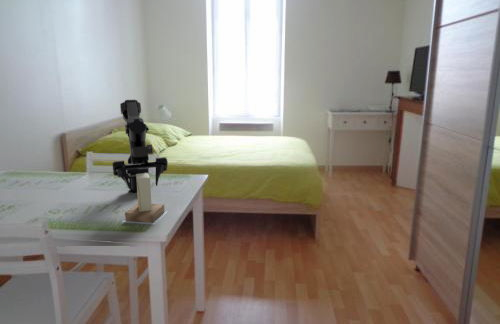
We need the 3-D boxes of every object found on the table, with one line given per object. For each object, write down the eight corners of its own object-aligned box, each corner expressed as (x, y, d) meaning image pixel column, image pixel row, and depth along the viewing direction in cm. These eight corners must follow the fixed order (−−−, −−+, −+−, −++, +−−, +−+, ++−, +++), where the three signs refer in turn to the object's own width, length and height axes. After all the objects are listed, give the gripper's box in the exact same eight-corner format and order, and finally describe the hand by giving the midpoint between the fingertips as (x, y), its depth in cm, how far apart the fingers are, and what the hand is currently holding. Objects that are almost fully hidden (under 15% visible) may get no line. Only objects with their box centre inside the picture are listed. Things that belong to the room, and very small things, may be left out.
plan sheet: (121, 222, 126) (121, 222, 126) (137, 210, 137) (137, 209, 137) (154, 225, 124) (154, 224, 124) (168, 212, 135) (168, 211, 135)
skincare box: (137, 206, 132) (135, 173, 129) (150, 204, 133) (148, 172, 131) (139, 212, 126) (136, 178, 123) (152, 210, 128) (150, 176, 125)
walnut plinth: (125, 221, 127) (124, 212, 126) (138, 210, 136) (138, 203, 135) (153, 222, 125) (152, 214, 124) (164, 212, 134) (164, 204, 134)
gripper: (110, 138, 126) (113, 178, 119) (165, 135, 132) (171, 172, 125) (112, 156, 135) (115, 194, 128) (163, 152, 142) (169, 188, 134)
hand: (143, 186), depth 128 cm, fingers open, 9 cm apart
